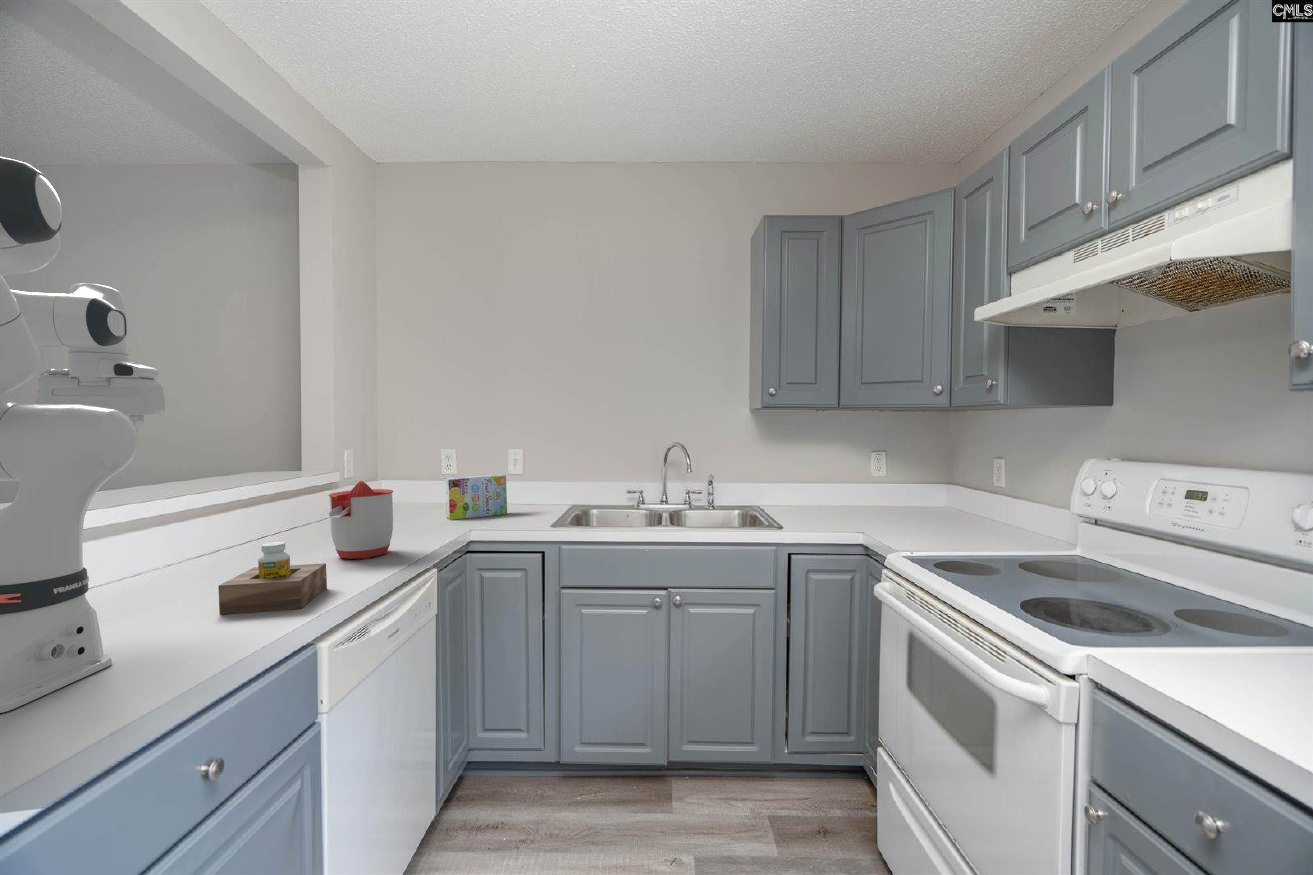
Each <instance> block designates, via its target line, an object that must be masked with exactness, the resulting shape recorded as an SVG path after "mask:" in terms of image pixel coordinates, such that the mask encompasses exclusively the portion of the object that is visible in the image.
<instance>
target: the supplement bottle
mask: <svg viewBox="0 0 1313 875" xmlns="http://www.w3.org/2000/svg"><path fill="white" fill-rule="evenodd" d="M285 550H286V542H285V541H274V542H267V543H263V544H261V552H262V554H260V556H259V557H258V560H257V565H258V566H257V567H259V579H264V578H280V577H289V576H290V575H291V572H290V565H291V557H290V554H289V552H286V551H285Z"/></svg>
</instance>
